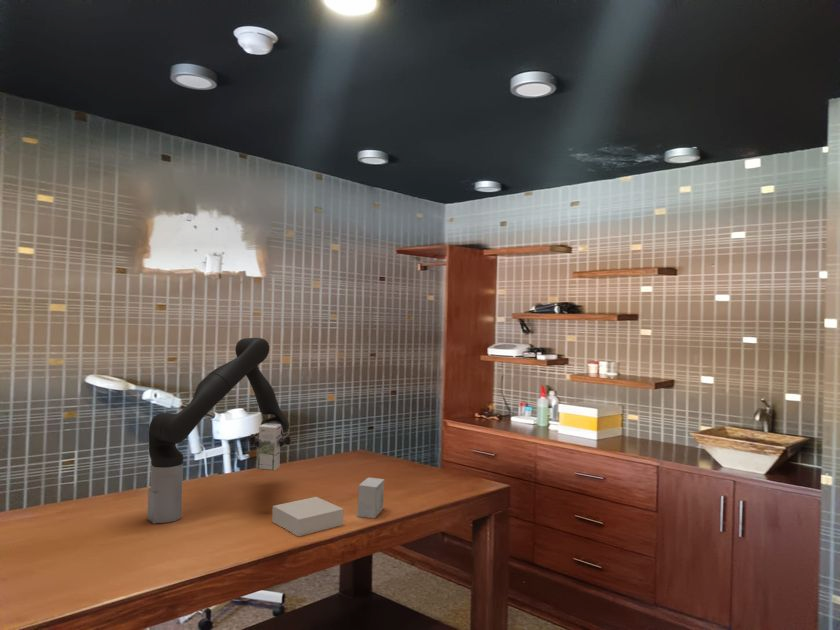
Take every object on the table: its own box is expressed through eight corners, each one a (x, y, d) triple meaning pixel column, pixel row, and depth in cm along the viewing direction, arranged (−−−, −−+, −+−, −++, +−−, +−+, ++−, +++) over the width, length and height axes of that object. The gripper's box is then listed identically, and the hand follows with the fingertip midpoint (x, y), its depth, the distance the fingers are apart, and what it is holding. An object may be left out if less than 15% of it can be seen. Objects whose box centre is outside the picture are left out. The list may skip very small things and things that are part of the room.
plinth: (298, 536, 169) (298, 519, 169) (272, 521, 181) (272, 505, 181) (343, 524, 180) (343, 508, 180) (315, 511, 191) (316, 496, 191)
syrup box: (280, 466, 192) (281, 423, 192) (273, 471, 186) (275, 426, 187) (263, 465, 193) (265, 422, 193) (256, 470, 187) (258, 425, 187)
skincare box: (375, 518, 186) (376, 486, 186) (356, 517, 187) (357, 485, 188) (384, 509, 196) (384, 478, 197) (366, 507, 198) (367, 476, 198)
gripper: (251, 423, 202) (247, 432, 186) (293, 423, 205) (292, 432, 189) (250, 445, 202) (246, 455, 186) (292, 444, 205) (291, 455, 189)
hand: (269, 444), depth 188 cm, fingers closed on syrup box, 7 cm apart
